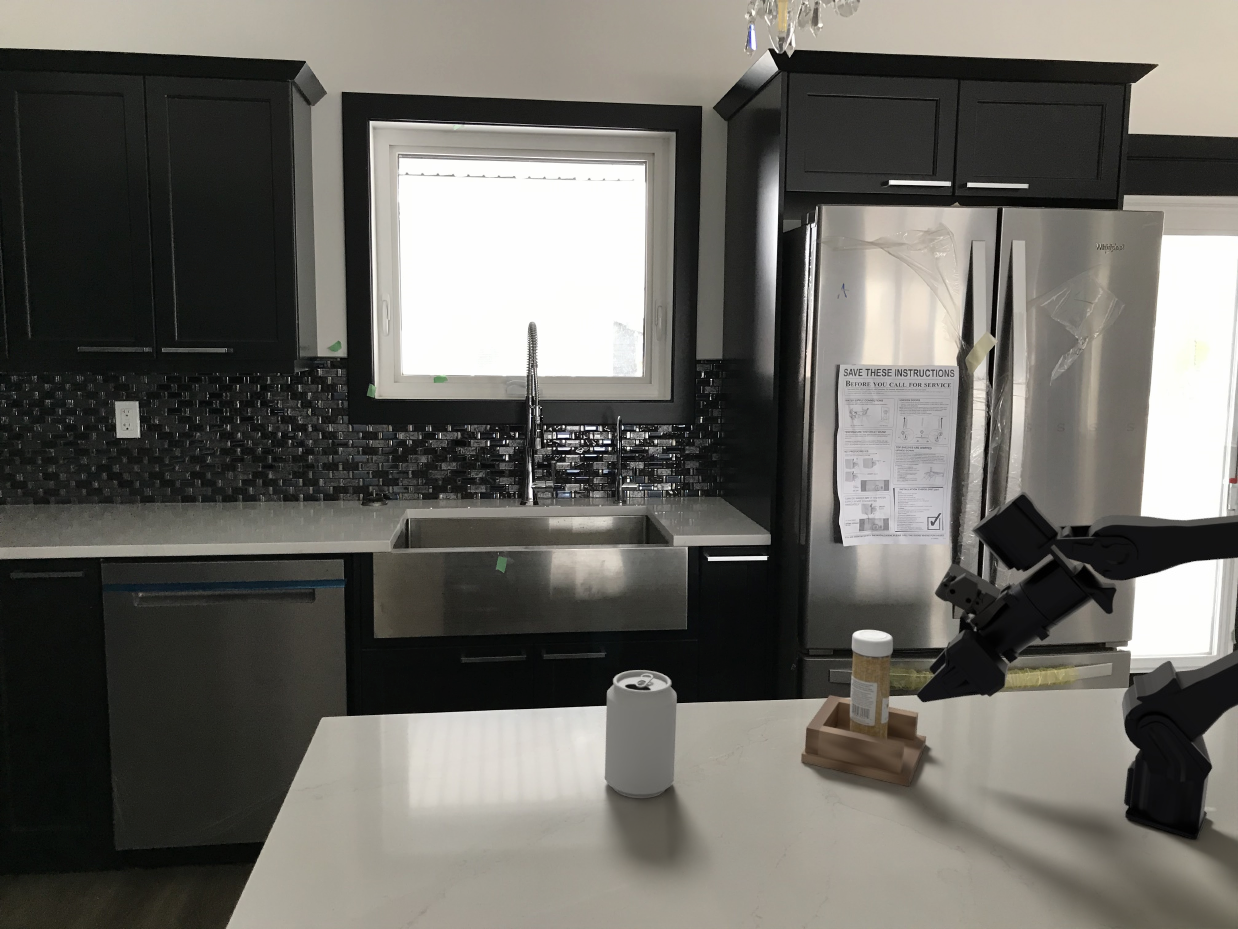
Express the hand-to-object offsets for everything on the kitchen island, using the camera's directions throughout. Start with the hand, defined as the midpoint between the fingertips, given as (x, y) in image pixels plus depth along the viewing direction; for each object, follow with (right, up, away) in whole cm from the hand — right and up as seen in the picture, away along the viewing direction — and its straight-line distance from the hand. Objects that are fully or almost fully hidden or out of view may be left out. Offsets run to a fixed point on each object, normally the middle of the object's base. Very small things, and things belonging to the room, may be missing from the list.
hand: (925, 684), depth 106 cm
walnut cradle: (-6, -9, +4) cm, 12 cm away
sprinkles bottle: (-6, -8, +4) cm, 11 cm away
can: (-33, -10, -5) cm, 35 cm away
